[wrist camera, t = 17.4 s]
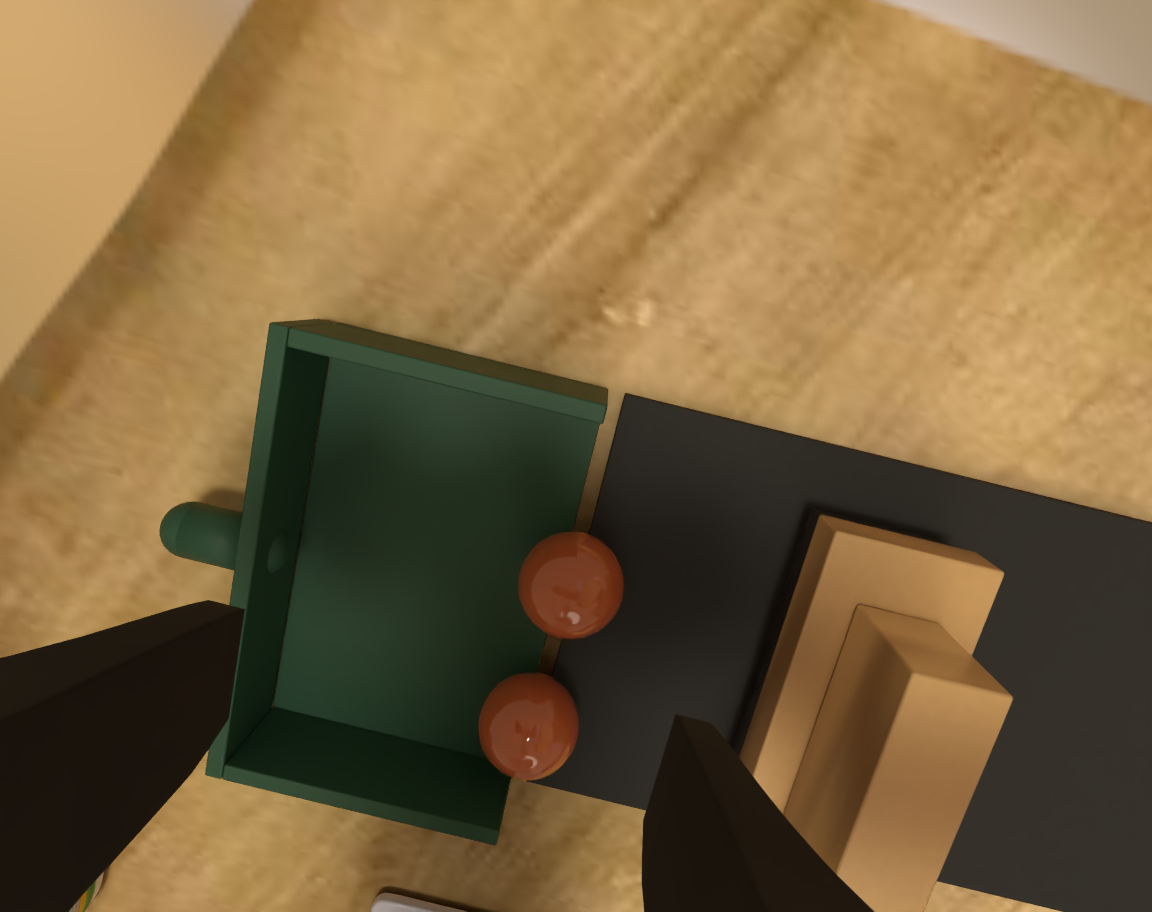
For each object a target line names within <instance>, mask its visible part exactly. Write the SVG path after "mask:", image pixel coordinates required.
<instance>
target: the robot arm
mask: <svg viewBox="0 0 1152 912" xmlns="http://www.w3.org/2000/svg"><path fill="white" fill-rule="evenodd" d="M244 612H245V609H243V608H238V607H234V606H230V605H226V604H222V603H218V602H214V601H210V600H207V601H202V602H197V603H193V604H189V605H185V606H182V607H178V608H175V609H171V610H168V611H165V612H161V613H158V614H155V615H151V616H148V617H145V618H142V619H138V620H135V621H132V622H128V623H125V624H122V625H119V626H115V627H112V628H109V629H105V630H102V631H99V632H95V633H92V634H89V635H85V636H82V637H78V638H75V639H71V640H67V641H63V642H60V643H56V644H52V645H49V646H45V647H41V648H37V649H34V650H30V651H26V652H23V653H19V654H15V655H11V656H7V657H3V658H0V912H69V911H70V910H71V908H72V907H73V906H74V905H75V904H76V902H77V901H78V900H79V899H80V898H81V896H82V895H83V894H84V893H85V892H86V891H87V890H88V889H89V887H90V886H91V885H92V884H93V883H94V882H95V881H96V880H97V879H98V877H99V876H100V875H101V874H102V873H103V872H104V871H105V870H106V869H107V867H108V866H109V865H110V864H111V863H112V862H113V861H114V860H115V859H116V857H117V856H118V855H119V854H120V853H121V852H122V851H123V850H124V849H125V847H126V846H127V845H128V844H129V843H130V842H131V841H132V840H133V839H134V837H135V836H136V835H137V834H138V833H139V832H140V831H141V830H142V829H143V827H144V826H145V825H146V824H147V823H148V822H149V821H150V820H151V819H152V817H153V816H154V815H155V814H156V813H157V812H158V811H159V810H160V808H161V807H162V806H163V805H164V804H165V803H166V802H167V801H168V799H169V798H170V797H171V796H172V795H173V794H174V793H175V792H176V790H177V789H178V788H179V787H180V786H181V785H182V784H183V782H184V781H185V780H186V779H187V778H188V777H189V775H190V774H191V773H192V772H193V770H194V769H195V768H196V766H197V765H198V763H199V762H200V761H201V759H202V758H203V756H204V755H205V754H206V752H207V751H208V749H209V748H210V746H211V745H212V743H213V742H214V740H215V739H216V737H217V736H218V734H219V733H220V731H221V730H222V728H223V727H224V725H225V724H226V722H227V721H228V719H229V714H230V707H231V700H232V693H233V687H234V680H235V673H236V666H237V660H238V653H239V646H240V639H241V633H242V626H243V619H244ZM642 890H643V902H644V912H874V911H873V910H872V909H871V908H870V907H869V906H868V905H867V904H866V903H865V902H864V901H863V900H862V899H861V898H860V897H859V896H858V895H857V894H856V893H855V892H854V891H853V890H852V889H851V888H850V887H849V886H848V885H847V884H846V883H845V882H844V881H843V880H842V879H841V878H840V877H839V876H838V875H837V874H836V873H835V872H834V871H833V870H832V869H831V868H830V867H829V866H828V865H827V864H826V863H825V862H824V861H823V860H822V858H821V857H820V856H819V855H818V854H817V853H816V852H815V851H814V849H813V848H812V847H811V846H810V845H809V844H808V843H807V842H806V840H805V839H804V838H803V837H802V836H801V835H800V834H799V832H798V831H797V830H796V829H795V828H794V827H793V826H792V824H791V823H790V822H789V821H788V820H787V818H786V817H785V816H784V815H783V814H782V812H781V811H780V810H779V809H778V807H777V806H776V805H775V804H774V802H773V801H772V800H771V799H770V797H769V796H768V795H767V794H766V792H765V791H764V790H763V788H762V787H761V786H760V785H759V783H758V782H757V781H756V779H755V778H754V777H753V775H752V774H751V773H750V772H749V770H748V769H747V768H746V766H745V765H744V764H743V762H742V761H741V760H740V758H739V757H738V756H737V754H736V753H735V752H734V750H733V749H732V748H731V746H730V745H729V744H728V742H727V741H726V740H725V738H724V737H723V736H722V734H721V733H720V732H719V731H718V729H717V728H716V727H715V726H714V725H713V724H712V723H710V722H706V721H702V720H698V719H694V718H689V717H685V716H681V715H677V714H675V718H674V721H673V724H672V728H671V731H670V734H669V737H668V741H667V744H666V747H665V751H664V754H663V757H662V760H661V764H660V767H659V770H658V774H657V777H656V780H655V783H654V787H653V790H652V793H651V797H650V800H649V803H648V806H647V810H646V813H645V816H644V820H643V846H642ZM371 912H467V911H463V910H459V909H455V908H451V907H447V906H442V905H438V904H434V903H430V902H426V901H422V900H418V899H413V898H409V897H405V896H401V895H397V894H393V893H382V894H380V895H378V896H377V897H376V898H375V901H374V903H373V905H372V908H371Z"/></svg>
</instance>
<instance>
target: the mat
mask: <svg viewBox="0 0 1152 912" xmlns="http://www.w3.org/2000/svg"><path fill="white" fill-rule="evenodd" d="M810 508H816V509H820V510H824V511H828V512H832V513H836V514H840V515H844V516H848V517H852V518H856V519H860V520H864V521H868V522H873V523H877V524H881V525H885V526H889V527H893V528H897V529H901V530H905V531H909V532H913V533H917V534H921V535H925V536H930V537H934V538H938V539H941V540H942V541H944V542H945V543H946V544H948V545H949V546H952V547H956V548H960V549H964V550H968V551H972V552H976V553H977V554H979V555H980V556H982V557H983V558H984V559H986V560H987V561H989V562H990V563H992V564H993V565H995V566H996V567H997V568H999V569H1000V570H1002V571H1003V572H1004V577H1003V579H1002V582H1001V584H1000V587H999V589H998V592H997V594H996V597H995V599H994V602H993V604H992V607H991V609H990V612H989V614H988V617H987V619H986V622H985V624H984V627H983V629H982V632H981V634H980V637H979V639H978V642H977V644H976V647H975V649H974V652H973V654H972V657H973V658H974V659H975V660H976V661H977V662H978V663H979V664H980V665H981V666H982V667H983V668H984V669H985V670H986V671H987V672H988V673H989V674H990V675H991V676H992V677H993V678H995V679H996V680H997V681H998V682H999V683H1000V684H1001V685H1002V686H1003V687H1004V688H1005V689H1006V690H1007V691H1008V692H1009V693H1010V694H1011V695H1012V697H1013V701H1012V703H1011V705H1010V708H1009V710H1008V712H1007V715H1006V717H1005V720H1004V722H1003V724H1002V727H1001V729H1000V731H999V734H998V736H997V739H996V741H995V743H994V746H993V748H992V751H991V753H990V755H989V758H988V760H987V762H986V765H985V767H984V770H983V772H982V774H981V777H980V779H979V781H978V784H977V786H976V789H975V791H974V793H973V796H972V798H971V800H970V803H969V805H968V808H967V810H966V812H965V815H964V817H963V820H962V822H961V824H960V827H959V829H958V831H957V834H956V836H955V839H954V841H953V843H952V846H951V848H950V850H949V853H948V855H947V858H946V860H945V862H944V865H943V867H942V869H941V872H940V874H939V877H938V879H937V881H939V882H943V883H947V884H951V885H955V886H960V887H964V888H968V889H972V890H976V891H980V892H984V893H988V894H992V895H997V896H1001V897H1005V898H1009V899H1013V900H1017V901H1021V902H1025V903H1030V904H1034V905H1038V906H1042V907H1046V908H1050V909H1054V910H1058V911H1062V912H1152V523H1151V522H1147V521H1143V520H1139V519H1135V518H1131V517H1127V516H1123V515H1118V514H1114V513H1110V512H1106V511H1102V510H1098V509H1094V508H1090V507H1086V506H1082V505H1078V504H1074V503H1070V502H1066V501H1062V500H1058V499H1053V498H1049V497H1045V496H1041V495H1037V494H1033V493H1029V492H1025V491H1021V490H1017V489H1013V488H1009V487H1005V486H1001V485H997V484H993V483H989V482H984V481H980V480H976V479H972V478H968V477H964V476H960V475H956V474H952V473H948V472H944V471H940V470H936V469H932V468H928V467H924V466H920V465H915V464H911V463H907V462H903V461H899V460H895V459H891V458H887V457H883V456H879V455H875V454H871V453H867V452H863V451H859V450H855V449H850V448H846V447H842V446H838V445H834V444H830V443H826V442H822V441H818V440H814V439H810V438H806V437H802V436H798V435H794V434H790V433H786V432H781V431H777V430H773V429H769V428H765V427H761V426H757V425H753V424H749V423H745V422H741V421H737V420H733V419H729V418H725V417H721V416H716V415H712V414H708V413H704V412H700V411H696V410H692V409H688V408H684V407H680V406H676V405H672V404H668V403H664V402H660V401H656V400H652V399H647V398H643V397H639V396H635V395H631V394H627V393H625V396H624V399H623V403H622V407H621V411H620V415H619V419H618V423H617V427H616V431H615V434H614V438H613V442H612V446H611V450H610V454H609V458H608V462H607V465H606V469H605V473H604V477H603V481H602V485H601V489H600V493H599V497H598V500H597V504H596V508H595V512H594V516H593V520H592V524H591V528H590V531H589V534H590V535H592V536H594V537H596V538H598V539H600V540H601V541H602V542H604V543H605V544H606V545H607V546H608V547H609V548H610V549H611V550H612V551H613V552H614V554H615V555H616V557H617V559H618V560H619V563H620V565H621V568H622V571H623V575H624V595H623V600H622V603H621V606H620V608H619V610H618V612H617V614H616V615H615V617H614V618H613V619H612V621H611V622H610V623H609V624H608V625H607V626H606V627H605V628H603V629H602V630H600V631H599V632H597V633H595V634H593V635H591V636H589V637H585V638H581V639H575V640H567V639H562V640H561V644H560V648H559V652H558V656H557V660H556V663H555V667H554V671H553V675H552V677H553V678H554V679H556V680H557V681H559V682H560V683H561V684H562V685H563V686H564V687H565V688H566V689H567V690H568V691H569V693H570V694H571V696H572V697H573V699H574V701H575V704H576V706H577V710H578V714H579V720H580V730H579V736H578V740H577V744H576V747H575V749H574V751H573V753H572V755H571V756H570V758H569V759H568V760H567V762H566V763H565V764H564V765H563V766H562V767H561V768H560V769H558V770H557V771H556V772H554V773H553V774H551V775H549V776H547V777H544V778H541V779H537V780H526V781H527V782H532V783H536V784H540V785H544V786H548V787H552V788H556V789H560V790H564V791H569V792H573V793H577V794H581V795H585V796H589V797H593V798H597V799H602V800H606V801H610V802H614V803H618V804H622V805H626V806H630V807H634V808H639V809H643V810H647V806H648V803H649V800H650V797H651V793H652V790H653V787H654V783H655V780H656V777H657V774H658V770H659V767H660V764H661V760H662V757H663V754H664V751H665V747H666V744H667V741H668V737H669V734H670V731H671V728H672V724H673V721H674V718H675V714H677V715H681V716H685V717H689V718H694V719H698V720H702V721H706V722H710V723H712V724H713V725H714V726H715V727H716V728H717V729H718V731H719V732H720V733H721V734H722V736H723V737H724V738H725V740H726V741H727V742H728V744H729V745H730V746H731V747H732V744H733V741H734V738H735V735H736V732H737V728H738V725H739V722H740V719H741V716H742V713H743V710H744V707H745V704H746V701H747V698H748V695H749V692H750V689H751V686H752V683H753V680H754V677H755V674H756V670H757V667H758V664H759V661H760V658H761V655H762V652H763V649H764V646H765V643H766V640H767V637H768V634H769V631H770V628H771V625H772V622H773V619H774V616H775V613H776V609H777V606H778V603H779V600H780V597H781V594H782V591H783V588H784V585H785V582H786V579H787V576H788V573H789V570H790V567H791V564H792V561H793V558H794V555H795V551H796V548H797V545H798V542H799V539H800V536H801V533H802V530H803V527H804V524H805V521H806V518H807V515H808V512H809V510H810Z"/></svg>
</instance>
